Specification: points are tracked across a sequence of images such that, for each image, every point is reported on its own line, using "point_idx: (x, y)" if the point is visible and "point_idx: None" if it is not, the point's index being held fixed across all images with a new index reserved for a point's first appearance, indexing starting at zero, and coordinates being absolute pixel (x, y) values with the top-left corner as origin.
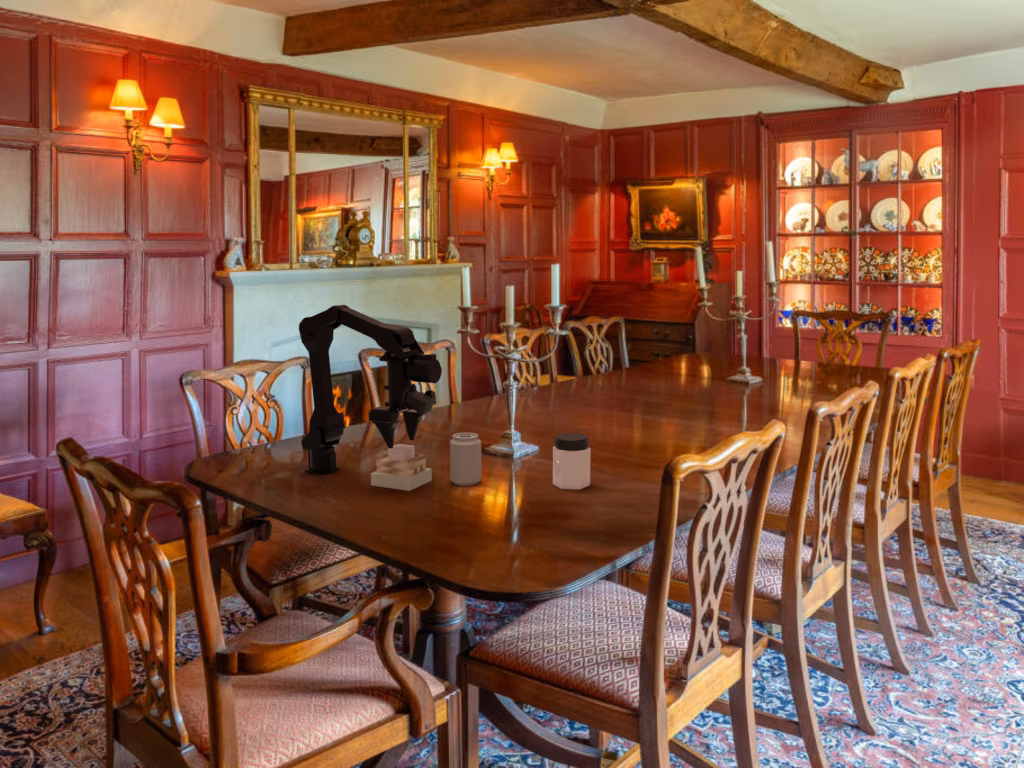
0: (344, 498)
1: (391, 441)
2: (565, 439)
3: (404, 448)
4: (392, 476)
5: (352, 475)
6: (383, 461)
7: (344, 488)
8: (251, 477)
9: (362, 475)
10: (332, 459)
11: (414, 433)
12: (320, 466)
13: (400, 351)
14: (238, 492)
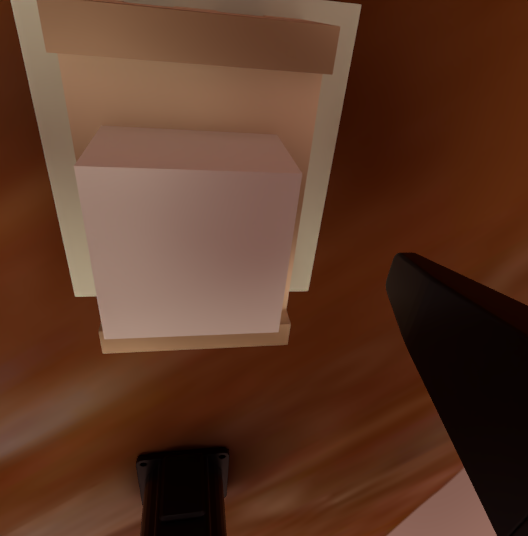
0: (491, 243)
1: (486, 288)
2: None
3: (248, 196)
4: (331, 156)
5: (189, 385)
6: (289, 281)
7: (362, 315)
8: (320, 524)
9: (170, 360)
10: (187, 492)
11: None
12: (217, 483)
13: None
14: (447, 476)
